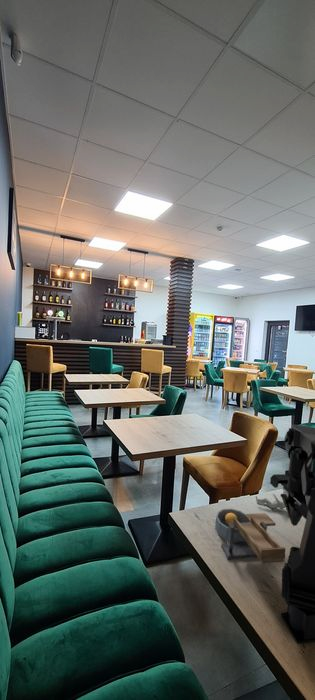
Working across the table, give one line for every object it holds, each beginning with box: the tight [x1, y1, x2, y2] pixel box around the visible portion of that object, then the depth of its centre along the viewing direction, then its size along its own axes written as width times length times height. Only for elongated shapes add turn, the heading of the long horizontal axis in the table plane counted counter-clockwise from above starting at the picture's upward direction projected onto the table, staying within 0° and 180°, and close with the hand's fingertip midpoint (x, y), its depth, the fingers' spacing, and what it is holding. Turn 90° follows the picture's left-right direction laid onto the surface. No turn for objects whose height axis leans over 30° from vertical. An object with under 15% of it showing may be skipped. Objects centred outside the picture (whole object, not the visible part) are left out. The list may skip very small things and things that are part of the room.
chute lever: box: [233, 512, 286, 564], centre depth 87 cm, size 22×14×3 cm, turn 10°
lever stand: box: [220, 522, 268, 560], centre depth 90 cm, size 5×13×8 cm, turn 100°
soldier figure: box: [255, 493, 286, 510], centre depth 114 cm, size 8×5×12 cm
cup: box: [214, 508, 248, 543], centre depth 99 cm, size 11×11×4 cm
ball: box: [225, 513, 237, 526], centre depth 101 cm, size 4×4×4 cm
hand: (294, 524), depth 85 cm, fingers closed
